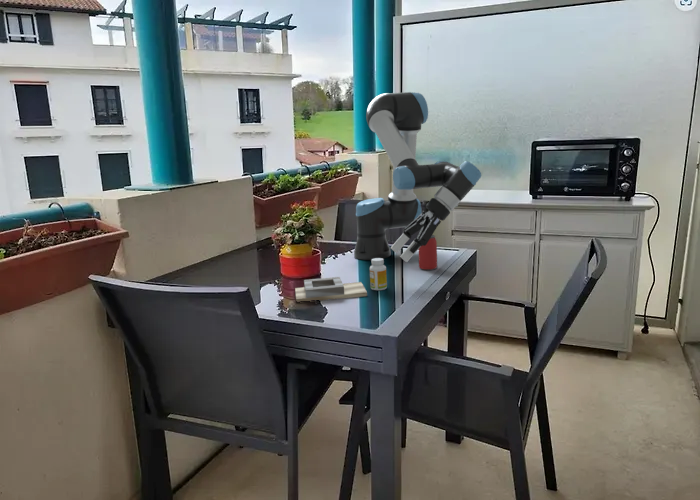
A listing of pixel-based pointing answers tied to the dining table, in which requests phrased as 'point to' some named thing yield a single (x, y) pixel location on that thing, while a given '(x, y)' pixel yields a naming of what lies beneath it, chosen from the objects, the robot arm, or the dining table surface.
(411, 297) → the dining table surface
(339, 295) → the socket board
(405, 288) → the dining table surface
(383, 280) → the supplement bottle
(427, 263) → the beer can
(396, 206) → the robot arm
